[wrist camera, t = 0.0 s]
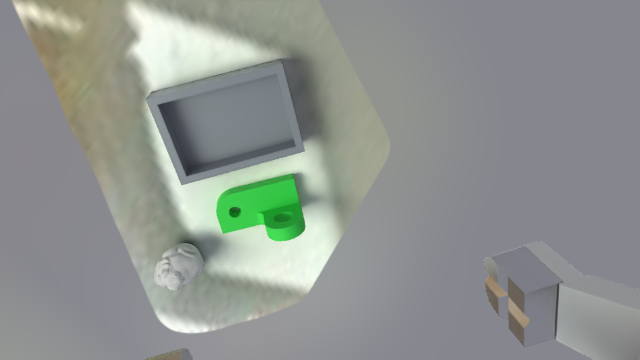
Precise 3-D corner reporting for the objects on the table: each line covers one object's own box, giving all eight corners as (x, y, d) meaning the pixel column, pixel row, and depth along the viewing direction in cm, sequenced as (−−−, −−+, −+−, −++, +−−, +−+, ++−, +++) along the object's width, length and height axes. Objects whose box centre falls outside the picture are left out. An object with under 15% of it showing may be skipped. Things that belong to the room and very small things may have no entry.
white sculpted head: (152, 244, 63) (142, 273, 56) (195, 227, 63) (191, 253, 56) (171, 274, 65) (165, 304, 59) (213, 257, 65) (211, 286, 59)
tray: (151, 92, 54) (145, 98, 50) (279, 59, 55) (282, 63, 52) (184, 174, 59) (181, 185, 56) (301, 142, 60) (304, 151, 57)
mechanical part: (292, 173, 62) (299, 197, 55) (300, 207, 65) (308, 235, 58) (211, 192, 61) (208, 220, 54) (223, 226, 64) (221, 257, 57)
